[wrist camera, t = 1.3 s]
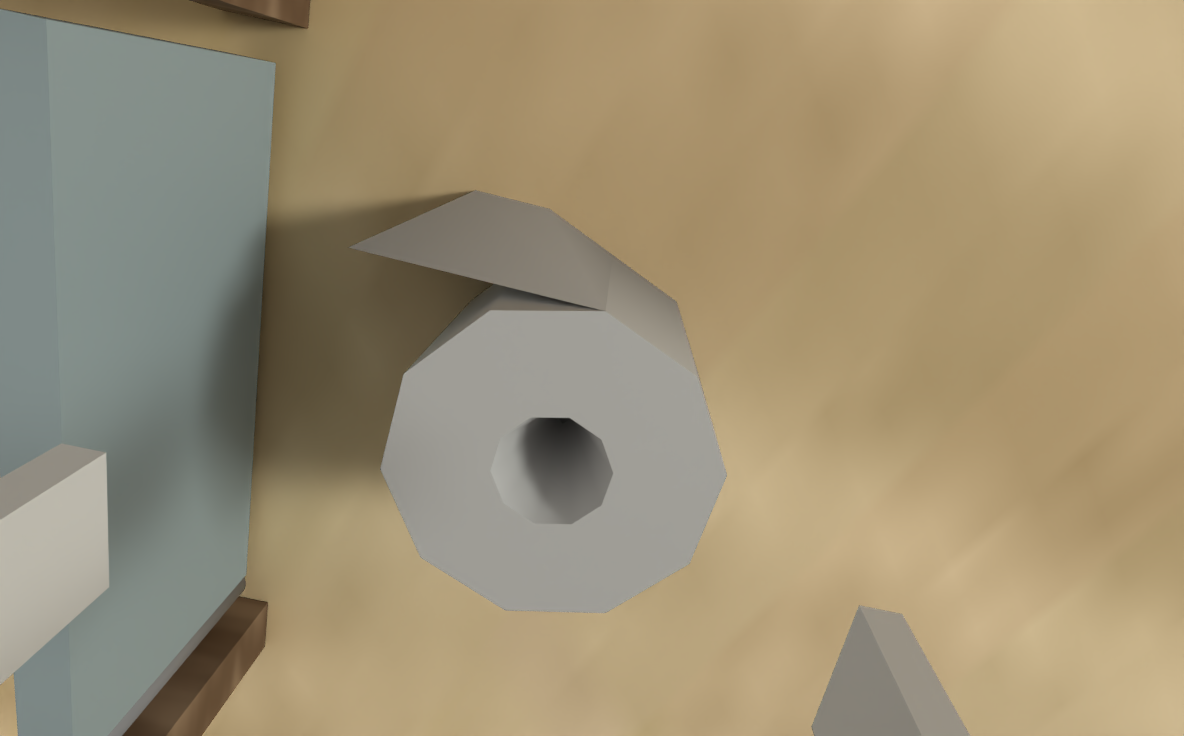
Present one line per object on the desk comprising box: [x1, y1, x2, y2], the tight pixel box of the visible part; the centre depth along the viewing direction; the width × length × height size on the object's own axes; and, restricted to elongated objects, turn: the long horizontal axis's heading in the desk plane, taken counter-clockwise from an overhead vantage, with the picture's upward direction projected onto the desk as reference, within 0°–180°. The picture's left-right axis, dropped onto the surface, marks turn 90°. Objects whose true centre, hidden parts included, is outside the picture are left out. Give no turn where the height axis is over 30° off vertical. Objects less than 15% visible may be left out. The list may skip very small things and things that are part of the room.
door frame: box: [122, 0, 310, 736], centre depth 20 cm, size 36×3×14 cm, turn 168°
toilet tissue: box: [348, 190, 727, 613], centre depth 23 cm, size 9×13×9 cm
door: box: [0, 9, 276, 736], centre depth 23 cm, size 22×3×10 cm, turn 168°
